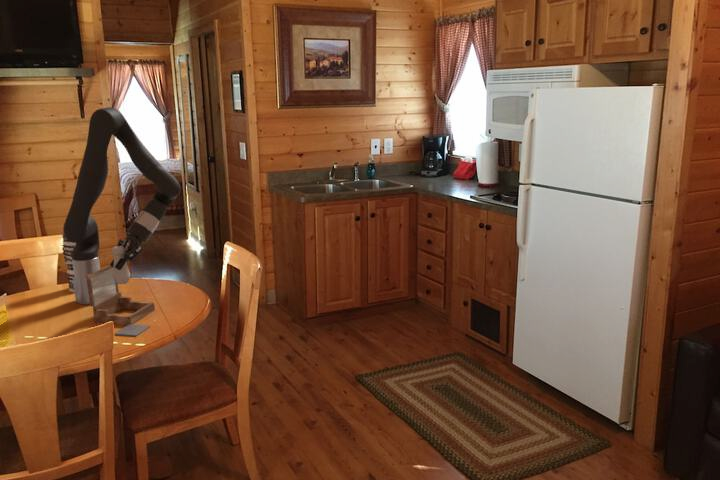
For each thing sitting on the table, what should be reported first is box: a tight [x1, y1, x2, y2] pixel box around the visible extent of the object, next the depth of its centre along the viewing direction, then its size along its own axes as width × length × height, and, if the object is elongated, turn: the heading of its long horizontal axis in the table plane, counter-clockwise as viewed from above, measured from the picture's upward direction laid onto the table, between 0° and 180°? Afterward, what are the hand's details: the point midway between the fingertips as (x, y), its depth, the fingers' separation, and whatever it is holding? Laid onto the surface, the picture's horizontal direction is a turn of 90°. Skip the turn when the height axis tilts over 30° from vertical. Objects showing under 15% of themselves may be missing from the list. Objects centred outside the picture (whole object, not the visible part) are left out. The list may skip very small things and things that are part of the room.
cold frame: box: [86, 264, 156, 326], centre depth 214 cm, size 15×15×17 cm
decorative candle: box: [61, 230, 76, 293], centre depth 244 cm, size 9×9×25 cm
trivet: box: [114, 324, 151, 338], centre depth 203 cm, size 8×8×1 cm
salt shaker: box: [110, 245, 131, 285], centre depth 211 cm, size 6×6×13 cm
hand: (114, 267), depth 209 cm, fingers closed on salt shaker, 3 cm apart
